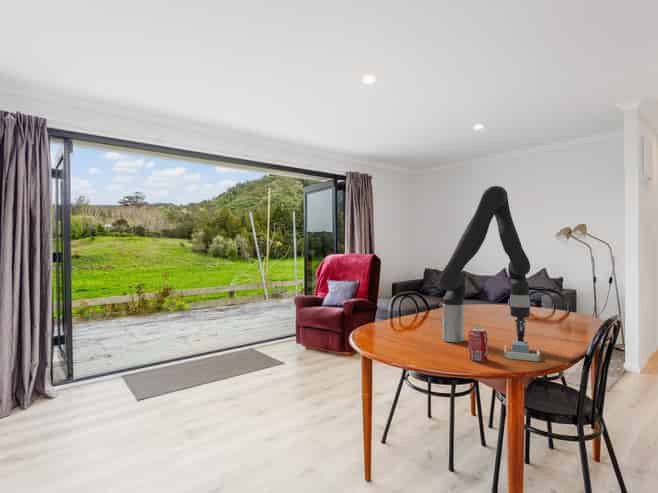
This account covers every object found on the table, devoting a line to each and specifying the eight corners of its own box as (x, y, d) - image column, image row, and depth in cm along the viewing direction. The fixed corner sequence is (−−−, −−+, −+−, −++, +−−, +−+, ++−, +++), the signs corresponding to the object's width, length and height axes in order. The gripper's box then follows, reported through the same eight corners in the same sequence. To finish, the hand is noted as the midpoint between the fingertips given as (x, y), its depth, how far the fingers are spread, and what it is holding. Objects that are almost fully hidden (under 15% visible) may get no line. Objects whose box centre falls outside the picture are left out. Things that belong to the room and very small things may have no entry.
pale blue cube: (512, 354, 156) (512, 344, 156) (511, 350, 162) (511, 340, 162) (528, 355, 154) (528, 345, 154) (527, 351, 160) (527, 342, 159)
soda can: (483, 356, 153) (482, 326, 153) (491, 362, 146) (490, 331, 146) (465, 357, 153) (465, 327, 153) (473, 362, 146) (472, 331, 146)
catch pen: (504, 358, 151) (504, 351, 151) (504, 350, 161) (504, 344, 161) (540, 361, 146) (540, 355, 145) (538, 353, 155) (537, 347, 155)
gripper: (531, 308, 155) (531, 350, 155) (528, 303, 167) (529, 342, 167) (510, 307, 158) (511, 348, 158) (509, 302, 170) (510, 341, 170)
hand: (520, 345), depth 162 cm, fingers closed
